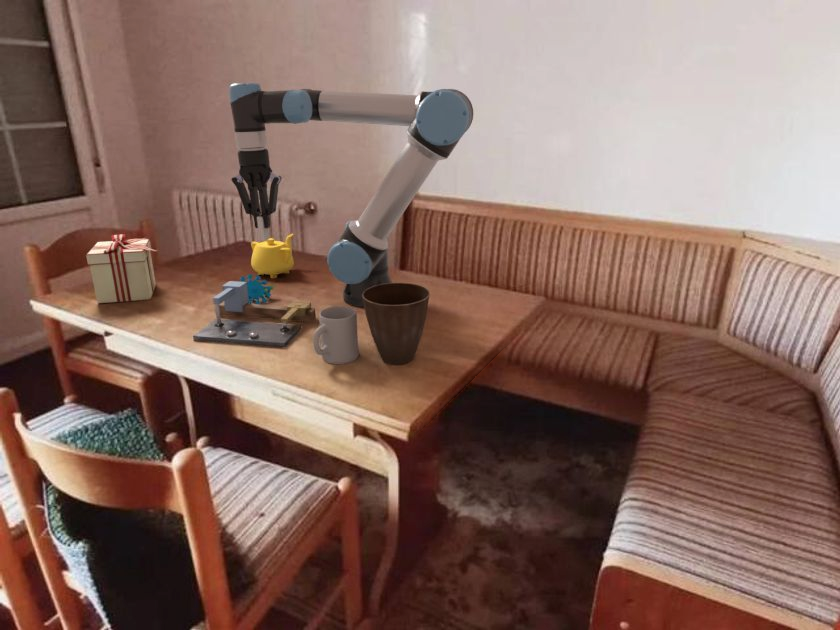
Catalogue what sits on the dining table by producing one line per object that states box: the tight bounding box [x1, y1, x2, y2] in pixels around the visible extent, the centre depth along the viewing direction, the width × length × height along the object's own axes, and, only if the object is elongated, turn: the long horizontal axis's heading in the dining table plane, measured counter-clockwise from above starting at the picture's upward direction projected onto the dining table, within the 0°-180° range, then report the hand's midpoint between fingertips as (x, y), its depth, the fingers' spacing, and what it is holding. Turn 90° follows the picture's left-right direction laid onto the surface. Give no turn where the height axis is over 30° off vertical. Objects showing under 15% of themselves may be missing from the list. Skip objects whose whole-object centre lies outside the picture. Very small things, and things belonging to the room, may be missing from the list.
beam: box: [214, 301, 317, 323], centre depth 158 cm, size 28×2×3 cm, turn 79°
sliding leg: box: [212, 280, 250, 324], centre depth 154 cm, size 5×13×7 cm, turn 169°
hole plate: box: [192, 318, 303, 349], centre depth 147 cm, size 24×11×2 cm, turn 79°
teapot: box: [250, 233, 295, 279], centre depth 192 cm, size 14×14×12 cm
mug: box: [312, 305, 360, 365], centre depth 133 cm, size 12×8×11 cm
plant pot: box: [362, 282, 430, 366], centre depth 132 cm, size 15×15×16 cm
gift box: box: [85, 233, 159, 304], centre depth 174 cm, size 17×18×17 cm
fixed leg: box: [280, 300, 312, 329], centre depth 152 cm, size 5×13×3 cm, turn 169°
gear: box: [238, 273, 275, 305], centre depth 170 cm, size 11×6×10 cm
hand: (264, 239), depth 155 cm, fingers closed
